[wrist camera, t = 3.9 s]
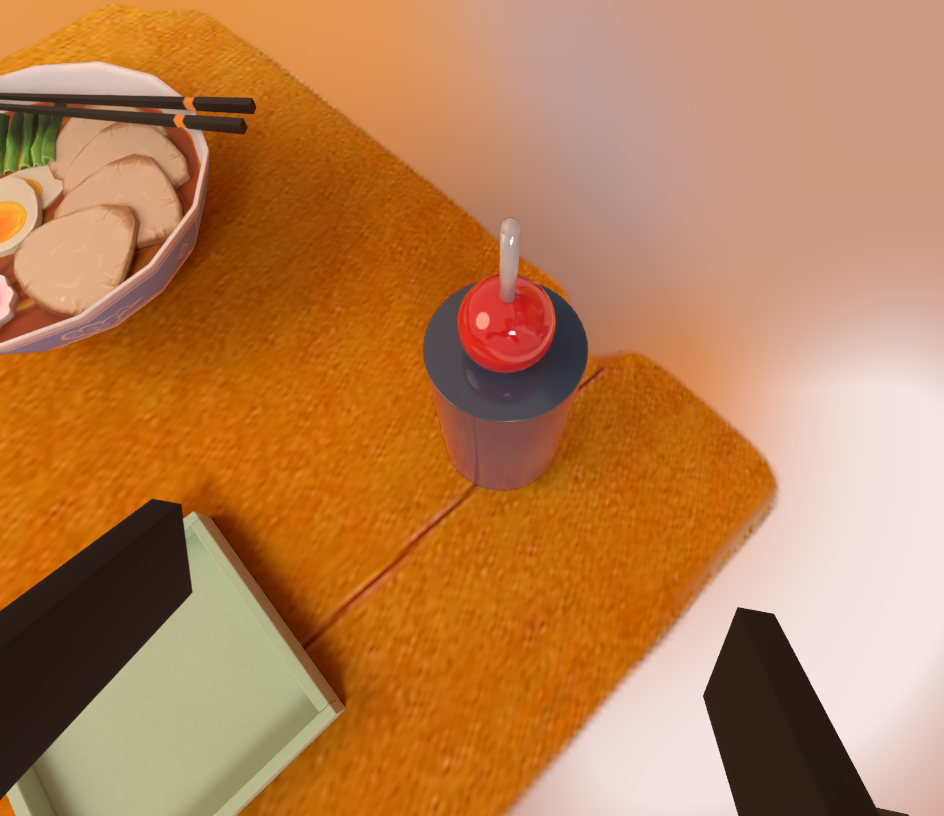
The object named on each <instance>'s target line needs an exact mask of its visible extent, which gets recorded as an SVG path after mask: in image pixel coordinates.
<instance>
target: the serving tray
mask: <svg viewBox="0 0 944 816" xmlns="http://www.w3.org/2000/svg"><path fill="white" fill-rule="evenodd" d="M183 522H184V530H185V537H186V545H187V553H188V560H189V568H190V576H191V584H192V591H193V593H192V594H191V595H190V596H189V597H188V598H187V599H186V600H185V601H184V603H183V604H182V605H181V606H180V607H179V608H178V609H177V610H176V611H175V612H174V613H173V614H172V615H171V617H170V618H169V619H168V620H167V621H166V622H165V623H164V624H163V625H162V626H161V627H160V628H159V629H158V631H157V632H156V633H155V634H154V635H153V636H152V637H151V638H150V639H149V640H148V641H147V642H146V643H145V645H144V646H143V647H142V648H141V649H140V650H139V651H138V652H137V653H136V654H135V655H134V656H133V657H132V659H131V660H130V661H129V662H128V663H127V664H126V665H125V666H124V667H123V668H122V669H121V670H120V671H119V673H118V674H117V675H116V676H115V677H114V678H113V679H112V680H111V681H110V682H109V683H108V684H107V686H106V687H105V688H104V689H103V690H102V691H101V692H100V693H99V694H98V695H97V696H96V697H95V698H94V700H93V701H92V702H91V703H90V704H89V705H88V706H87V707H86V708H85V709H84V710H83V711H82V712H81V714H80V715H79V716H78V717H77V718H76V719H75V720H74V721H73V722H72V723H71V724H70V725H69V726H68V728H67V729H66V730H65V731H64V732H63V733H62V734H61V735H60V736H59V737H58V738H57V739H56V740H55V742H54V743H53V744H52V745H51V746H50V747H49V748H48V749H47V750H46V751H45V752H44V753H43V754H42V756H41V757H40V758H39V759H38V760H37V761H36V762H35V763H34V764H33V765H32V766H31V767H30V768H29V770H28V771H27V772H26V773H25V774H24V775H23V776H22V777H21V778H20V779H19V780H18V781H17V782H16V784H15V785H14V786H13V787H12V788H11V789H10V790H9V791H8V792H7V793H6V794H7V796H8V799H9V801H10V803H11V805H12V808H13V810H14V812H15V814H16V816H237V815H238V814H239V813H240V812H241V811H242V810H243V809H244V808H245V807H246V806H247V805H248V804H249V803H250V802H251V801H252V800H253V799H254V798H255V797H256V796H257V795H258V794H259V793H260V792H261V791H262V790H263V789H264V788H265V787H266V786H267V785H268V784H269V783H270V782H271V781H273V780H274V779H275V778H276V777H277V776H278V775H279V774H280V773H281V772H282V771H283V770H284V769H285V768H286V767H287V766H288V765H289V764H290V763H291V762H292V761H293V760H294V759H295V758H296V757H297V756H298V755H299V754H300V753H301V752H302V751H303V750H304V749H305V748H306V747H307V746H308V745H310V744H311V743H312V742H313V741H314V740H315V739H316V738H317V737H318V736H319V735H320V734H321V733H322V732H323V731H324V730H325V729H326V728H327V727H328V726H329V725H330V724H331V723H332V722H333V721H334V720H335V719H336V718H337V717H338V716H339V715H340V714H341V713H342V712H343V711H344V710H345V709H346V708H345V706H344V705H343V703H342V702H341V701H340V699H339V698H338V696H337V695H336V694H335V692H334V691H333V689H332V688H331V687H330V685H329V684H328V682H327V681H326V680H325V678H324V677H323V675H322V674H321V673H320V671H319V670H318V668H317V667H316V665H315V664H314V663H313V661H312V660H311V658H310V657H309V656H308V654H307V653H306V651H305V650H304V649H303V647H302V646H301V644H300V643H299V642H298V640H297V639H296V637H295V636H294V634H293V633H292V632H291V630H290V629H289V627H288V626H287V625H286V623H285V622H284V620H283V619H282V618H281V616H280V615H279V613H278V612H277V611H276V609H275V608H274V606H273V605H272V603H271V602H270V601H269V599H268V598H267V596H266V595H265V594H264V592H263V591H262V589H261V588H260V587H259V585H258V584H257V582H256V581H255V580H254V578H253V577H252V575H251V574H250V573H249V571H248V570H247V568H246V567H245V565H244V564H243V563H242V561H241V560H240V558H239V557H238V556H237V554H236V553H235V551H234V550H233V549H232V547H231V546H230V544H229V543H228V542H227V540H226V539H225V537H224V536H223V534H222V533H221V532H220V530H219V529H218V527H217V526H216V525H215V523H214V522H213V520H212V519H211V518H210V517H209V516H206V515H204V514H201V513H199V512H196V511H193V512H191V513H190V514H189V515H188V516H186V517H185V518H184V519H183Z"/></svg>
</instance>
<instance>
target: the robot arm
mask: <svg viewBox="0 0 944 816" xmlns="http://www.w3.org/2000/svg"><path fill="white" fill-rule="evenodd" d="M192 593H193V591H192V584H191V576H190V568H189V560H188V553H187V545H186V537H185V530H184V522H183V514H182V506H181V504H177V503H172V502H166V501H161V500H155V499H151V500H150V501H149V502H147V503H146V504H145V505H143V506H142V507H141V508H139V509H138V510H137V511H135V512H134V513H132V514H131V515H130V516H128V517H127V518H126V519H124V520H123V521H122V522H120V523H119V524H118V525H116V526H115V527H113V528H112V529H111V530H109V531H108V532H107V533H105V534H104V535H103V536H101V537H100V538H99V539H97V540H96V541H95V542H93V543H92V544H90V545H89V546H88V547H86V548H85V549H84V550H82V551H81V552H80V553H78V554H77V555H76V556H74V557H73V558H71V559H70V560H69V561H67V562H66V563H65V564H63V565H62V566H61V567H59V568H58V569H57V570H55V571H54V572H53V573H51V574H50V575H48V576H47V577H46V578H44V579H43V580H42V581H40V582H39V583H38V584H36V585H35V586H34V587H32V588H31V589H29V590H28V591H27V592H25V593H24V594H23V595H21V596H20V597H19V598H17V599H16V600H15V601H13V602H12V603H10V604H9V605H8V606H6V607H5V608H4V609H2V610H1V611H0V800H1V799H2V798H3V796H4V795H5V794H6V793H7V792H8V791H9V790H10V789H11V788H12V787H13V786H14V785H15V784H16V782H17V781H18V780H19V779H20V778H21V777H22V776H23V775H24V774H25V773H26V772H27V771H28V770H29V768H30V767H31V766H32V765H33V764H34V763H35V762H36V761H37V760H38V759H39V758H40V757H41V756H42V754H43V753H44V752H45V751H46V750H47V749H48V748H49V747H50V746H51V745H52V744H53V743H54V742H55V740H56V739H57V738H58V737H59V736H60V735H61V734H62V733H63V732H64V731H65V730H66V729H67V728H68V726H69V725H70V724H71V723H72V722H73V721H74V720H75V719H76V718H77V717H78V716H79V715H80V714H81V712H82V711H83V710H84V709H85V708H86V707H87V706H88V705H89V704H90V703H91V702H92V701H93V700H94V698H95V697H96V696H97V695H98V694H99V693H100V692H101V691H102V690H103V689H104V688H105V687H106V686H107V684H108V683H109V682H110V681H111V680H112V679H113V678H114V677H115V676H116V675H117V674H118V673H119V671H120V670H121V669H122V668H123V667H124V666H125V665H126V664H127V663H128V662H129V661H130V660H131V659H132V657H133V656H134V655H135V654H136V653H137V652H138V651H139V650H140V649H141V648H142V647H143V646H144V645H145V643H146V642H147V641H148V640H149V639H150V638H151V637H152V636H153V635H154V634H155V633H156V632H157V631H158V629H159V628H160V627H161V626H162V625H163V624H164V623H165V622H166V621H167V620H168V619H169V618H170V617H171V615H172V614H173V613H174V612H175V611H176V610H177V609H178V608H179V607H180V606H181V605H182V604H183V603H184V601H185V600H186V599H187V598H188V597H189V596H190V595H191V594H192ZM703 697H704V701H705V704H706V707H707V711H708V714H709V718H710V721H711V725H712V728H713V731H714V735H715V737H716V741H717V745H718V748H719V751H720V755H721V758H722V761H723V765H724V768H725V772H726V775H727V779H728V782H729V785H730V789H731V792H732V795H733V799H734V802H735V806H736V809H737V812H738V815H739V816H909V815H907V814H904V813H899V812H894V811H890V810H885V809H880V808H876V807H875V805H874V803H873V801H872V799H871V797H870V795H869V793H868V791H867V790H866V787H865V786H864V784H863V782H862V780H861V778H860V776H859V774H858V773H857V770H856V768H855V767H854V765H853V763H852V761H851V759H850V757H849V755H848V753H847V752H846V750H845V748H844V746H843V744H842V742H841V740H840V738H839V736H838V734H837V733H836V731H835V729H834V727H833V725H832V723H831V721H830V719H829V718H828V715H827V714H826V712H825V710H824V708H823V706H822V704H821V702H820V700H819V698H818V697H817V694H816V693H815V691H814V689H813V687H812V685H811V683H810V681H809V680H808V677H807V676H806V674H805V672H804V670H803V668H802V666H801V664H800V662H799V661H798V658H797V656H796V655H795V653H794V651H793V649H792V647H791V645H790V644H789V641H788V639H787V637H786V636H785V634H784V632H783V630H782V628H781V626H780V624H779V622H778V620H777V619H776V617H775V615H774V614H772V613H767V612H761V611H756V610H750V609H744V608H739V607H738V608H737V610H736V613H735V616H734V618H733V620H732V623H731V626H730V628H729V631H728V633H727V636H726V638H725V641H724V644H723V646H722V649H721V651H720V654H719V656H718V659H717V661H716V664H715V667H714V669H713V672H712V674H711V677H710V679H709V682H708V685H707V687H706V690H705V692H704V695H703Z"/></svg>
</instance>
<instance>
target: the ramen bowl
mask: <svg viewBox="0 0 944 816" xmlns="http://www.w3.org/2000/svg"><path fill="white" fill-rule="evenodd" d="M195 110H196V111H210V112H228V113H245V114H254V112H255V110H256V105H255V103H254V101H253V99H252V98H227V97H192V98H189V97H182V96H181V95H180V94H178V93H177V92H176V91H175V90H173V89H172V88H171V87H169V86H168V85H167V84H165V83H164V82H163V81H161V80H160V79H159V78H158V77H156V76H155V75H152V74H148V73H144V72H140V71H136V70H132V69H128V68H124V67H120V66H116V65H112V64H108V63H104V62H100V61H99V62H83V63H67V64H51V65H35V66H32V67H28V68H25V69H22V70H18V71H15V72H12V73H8V74H5V75H1V76H0V354H14V353H30V352H44V351H48V350H52V349H56V348H60V347H63V346H66V345H68V344H71V343H74V342H76V341H79V340H82V339H85V338H87V337H90V336H93V335H96V334H98V333H101V332H104V331H106V330H109V329H112V328H115V327H117V326H118V325H120V324H121V323H122V322H124V321H125V320H126V319H128V318H129V317H130V316H132V315H133V314H134V313H136V312H137V311H138V310H140V309H141V308H142V307H144V306H145V305H146V304H148V303H149V302H150V301H152V300H153V299H154V298H156V297H157V296H158V295H160V294H161V293H162V292H163V291H164V290H165V288H166V287H167V286H168V284H169V283H170V281H171V280H172V279H173V277H174V276H175V275H176V273H177V272H178V270H179V269H180V268H181V266H182V265H183V263H184V262H185V261H186V259H187V258H188V257H189V255H190V254H191V252H192V251H193V248H194V246H195V244H196V241H197V238H198V233H199V228H200V223H201V218H202V214H203V209H204V204H205V199H206V194H207V188H208V181H209V175H210V168H209V150H208V147H207V144H206V141H205V138H204V135H203V132H202V130H205V131H216V132H226V133H236V134H245V132H246V130H247V125H246V123H245V121H244V119H243V118H231V117H215V116H199V115H197V114H196V111H195Z"/></svg>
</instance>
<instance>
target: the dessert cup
mask: <svg viewBox="0 0 944 816" xmlns="http://www.w3.org/2000/svg"><path fill="white" fill-rule="evenodd" d="M520 234H521V226H520V223H519V222H518V220H517V219H515V218H507V219H505V220H504V221H503V222H502V224H501V228H500V267H499V274H496V275H492V276H489V277H487V278H485V279H483V280H481V281H479V282H476V283H473V284H471V285H468V286H466V287H464V288H462V289H460V290H459V291H457V292H456V293H454V294H453V295H451V296H450V297H449V298H448V299H446V300H445V301H444V302H443V303H442V305H441V306H440V307H439V308H438V309H437V311H436V312H435V313H434V315H433V317H432V318H431V320H430V322H429V324H428V327H427V330H426V333H425V337H424V344H423V356H424V362H425V367H426V371H427V375H428V379H429V383H430V387H431V391H432V395H433V398H434V402H435V406H436V410H437V414H438V418H439V422H440V426H441V430H442V434H443V438H444V442H445V446H446V450H447V453H448V456H449V458H450V460H451V462H452V464H453V465H454V467H455V468H456V469H457V471H458V472H459V473H460V474H461V475H462V476H463V477H465V478H466V479H467V480H469V481H470V482H472V483H474V484H476V485H478V486H480V487H483V488H486V489H491V490H513V489H517V488H520V487H523V486H525V485H528V484H529V483H531V482H533V481H534V480H536V479H537V478H538V477H540V476H541V475H542V474H543V473H544V472H545V470H546V469H547V468H548V466H549V465H550V463H551V461H552V459H553V457H554V454H555V452H556V449H557V446H558V443H559V441H560V438H561V435H562V432H563V430H564V427H565V424H566V421H567V419H568V416H569V413H570V410H571V408H572V405H573V402H574V399H575V397H576V394H577V391H578V388H579V386H580V383H581V380H582V377H583V375H584V372H585V368H586V364H587V359H588V341H587V337H586V332H585V330H584V327H583V324H582V322H581V320H580V319H579V317H578V315H577V314H576V312H575V311H574V310H573V308H572V307H571V306H570V305H569V304H568V303H567V302H566V301H565V300H564V299H563V298H562V297H561V296H559V295H558V294H557V293H555V292H553V291H552V290H550V289H549V288H546V287H544V286H542V285H540V284H537V283H536V282H534V281H533V280H531V279H529V278H527V277H525V276H522V275H518V262H519V247H520Z"/></svg>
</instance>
